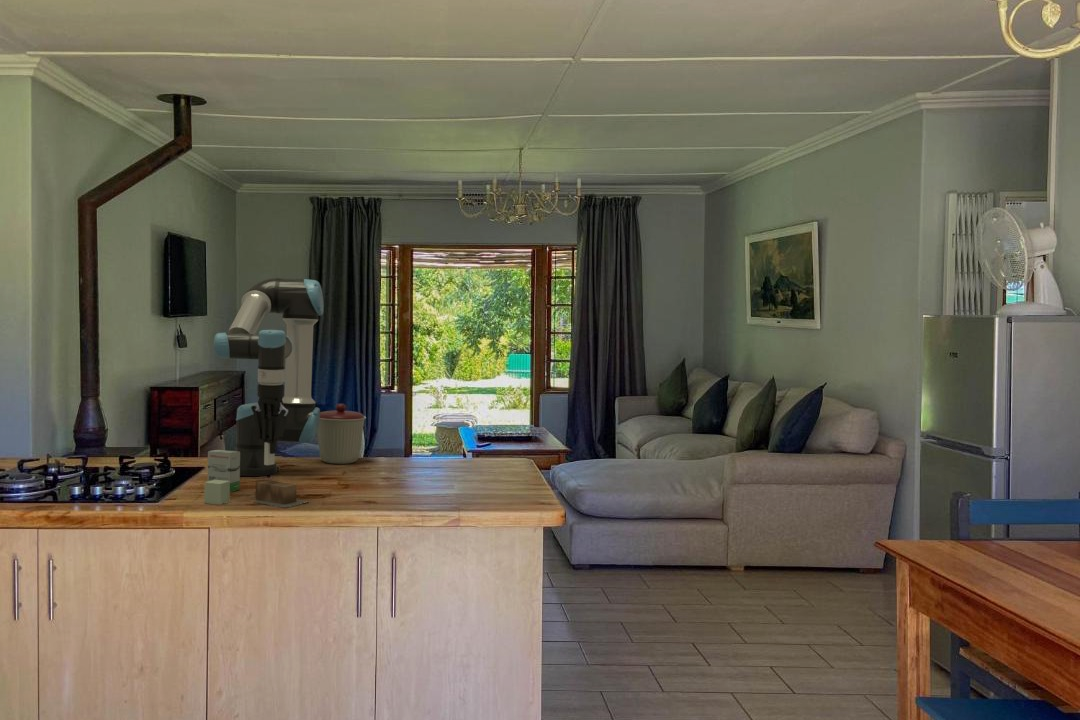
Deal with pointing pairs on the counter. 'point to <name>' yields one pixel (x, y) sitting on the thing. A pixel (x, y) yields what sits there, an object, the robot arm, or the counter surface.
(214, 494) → the sage block
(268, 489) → the walnut block
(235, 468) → the ink box
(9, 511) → the counter surface
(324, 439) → the canister
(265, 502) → the mat
